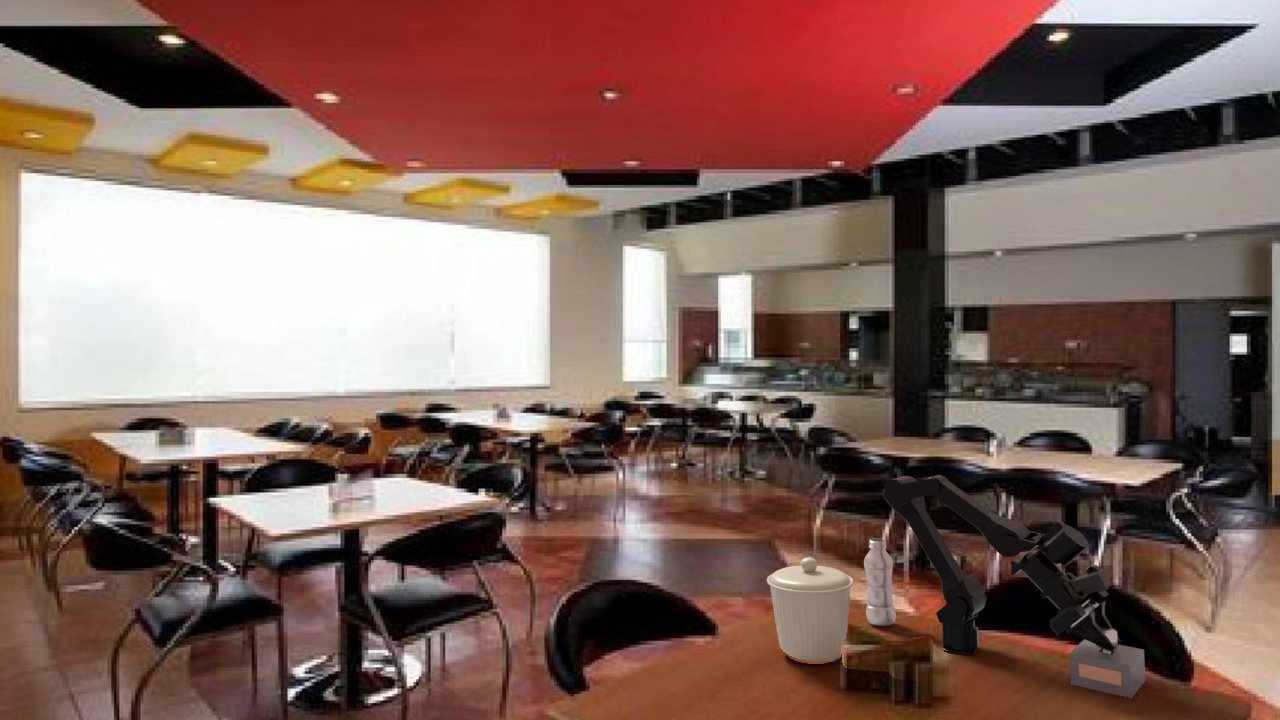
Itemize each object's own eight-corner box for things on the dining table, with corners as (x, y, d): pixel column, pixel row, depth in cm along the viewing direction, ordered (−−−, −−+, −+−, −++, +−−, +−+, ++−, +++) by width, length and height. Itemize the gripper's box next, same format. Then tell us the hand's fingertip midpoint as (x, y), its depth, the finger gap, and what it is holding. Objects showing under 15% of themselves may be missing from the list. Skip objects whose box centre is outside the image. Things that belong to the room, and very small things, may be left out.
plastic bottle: (897, 629, 184) (894, 543, 184) (867, 628, 186) (863, 543, 186) (894, 620, 191) (891, 537, 191) (865, 619, 192) (861, 536, 192)
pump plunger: (1094, 677, 151) (1092, 631, 151) (1100, 671, 154) (1098, 626, 154) (1116, 681, 149) (1114, 635, 149) (1121, 675, 151) (1119, 630, 151)
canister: (752, 657, 171) (748, 559, 171) (803, 635, 183) (799, 543, 183) (823, 680, 157) (819, 573, 157) (873, 655, 170) (869, 556, 170)
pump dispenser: (1070, 684, 151) (1069, 653, 151) (1086, 668, 158) (1085, 638, 158) (1131, 699, 144) (1129, 665, 144) (1145, 681, 151) (1143, 649, 151)
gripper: (1064, 564, 147) (1136, 636, 139) (1094, 544, 161) (1161, 609, 153) (1022, 599, 153) (1089, 671, 145) (1054, 578, 166) (1116, 642, 158)
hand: (1115, 646), depth 150 cm, fingers closed on pump plunger, 4 cm apart
